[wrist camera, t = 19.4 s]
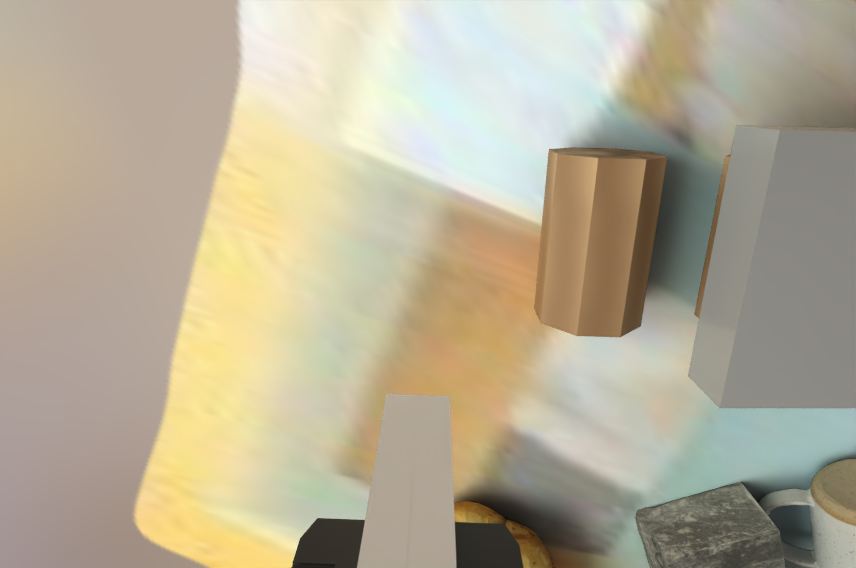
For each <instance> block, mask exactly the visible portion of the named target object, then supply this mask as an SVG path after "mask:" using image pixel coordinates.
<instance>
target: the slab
mask: <svg viewBox="0 0 856 568" xmlns="http://www.w3.org/2000/svg"><path fill="white" fill-rule="evenodd" d="M688 376H689V377H690V378H691V379H692V380H693V381H694V382H695V383H696V384H697V385H698V386H699V387H700V389H701V390H702V391H703V392H704V393H705V394H706V395H707V396H708V397H709V398H710V399H711V400H712V401H713V402H714V403H715V404H716V405H717V406H718V407H719V408H856V128H834V127H790V126H746V125H736V130H735V135H734V140H733V145H732V150H731V156H730V161H729V166H728V171H727V176H726V182H725V187H724V192H723V197H722V202H721V208H720V213H719V218H718V223H717V228H716V234H715V239H714V244H713V249H712V254H711V259H710V265H709V270H708V275H707V280H706V285H705V291H704V296H703V301H702V306H701V311H700V317H699V322H698V327H697V332H696V337H695V343H694V348H693V353H692V358H691V363H690V369H689V374H688Z"/></svg>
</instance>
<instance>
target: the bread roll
mask: <svg viewBox="0 0 856 568" xmlns="http://www.w3.org/2000/svg"><path fill="white" fill-rule="evenodd" d="M454 516H455V522H470V523H495V524H505V525H506V526H507V528H508V529H509V531H510V532H511V534H512V535H513V537H514V538H515V539H516V541H517V542H518V544H519V545H520V551H521V556H522V562H523V567H524V568H553V564H552V560H551V557H550V555H549V553H548V551H547V549H546V548H545V546H544V544H543V543H542V542H541V540H540V539H539V537H538V536H537V535H536V534H535V532H534V531H532V530H531V529H529V528H528V527H525V526H523V525H521V524H519V523H516V522H513V521H510V520H505V518H504V517H503V516H501V515H499V514H498V513H496V512H495V511H494V510H492V509H491V508H488V507H486V506H484V505H482V504H479V503H475V502H470V501H461V502H456V503H454Z"/></svg>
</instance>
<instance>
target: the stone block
mask: <svg viewBox="0 0 856 568" xmlns="http://www.w3.org/2000/svg"><path fill="white" fill-rule="evenodd" d="M636 522H637V527H638V531H639V534H640V536H641V539H642V542H643V545H644V549H645V552H646V556H647V559H648V563H649V566H650V568H785V563H784V557H783V550H782V543H781V537H780V531H779V530H778V528H777V527H776V526H775V524H774V523H773V522H772V521H771V519H770V518H769V517H768V515H767V514H766V513H765V512H764V510H763V509H762V508H761V507H760V505H759V504H758V503H757V501H756V500H755V499H754V498H753V497H752V495H751V494H750V493H749V491H748V490H747V489H746V488H745V486H744V485H743V484H742V483H741V482H738V483H735V484H731V485H727V486H724V487H720V488H717V489H713V490H710V491H706V492H703V493H699V494H696V495H692V496H688V497H684V498H681V499H678V500H675V501H672V502H669V503H665V504H664V505H661V506H658V507H655V508H651V507H648V508H647V507H646V508H642V509H639V510H638V511H637V513H636Z"/></svg>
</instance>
